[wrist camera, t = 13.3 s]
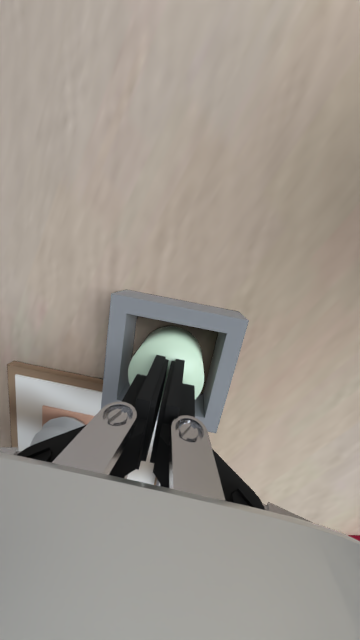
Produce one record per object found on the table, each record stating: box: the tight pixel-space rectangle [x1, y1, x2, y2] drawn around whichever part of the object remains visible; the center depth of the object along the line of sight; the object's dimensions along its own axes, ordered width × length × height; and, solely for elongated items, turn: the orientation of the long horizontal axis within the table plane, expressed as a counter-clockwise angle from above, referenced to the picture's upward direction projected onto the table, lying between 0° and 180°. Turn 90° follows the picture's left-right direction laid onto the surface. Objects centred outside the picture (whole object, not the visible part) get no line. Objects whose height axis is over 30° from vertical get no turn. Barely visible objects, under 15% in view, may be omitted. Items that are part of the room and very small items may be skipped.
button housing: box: [101, 290, 249, 433], centre depth 13 cm, size 8×8×2 cm
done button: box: [128, 326, 204, 409], centre depth 12 cm, size 4×4×3 cm
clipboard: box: [7, 361, 159, 486], centre depth 16 cm, size 11×15×2 cm
